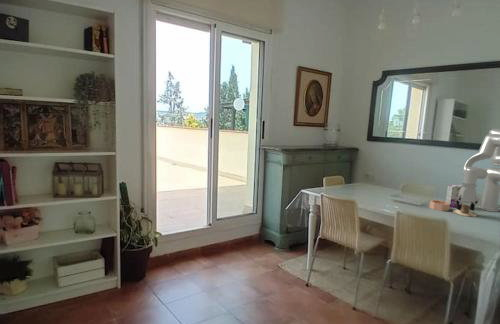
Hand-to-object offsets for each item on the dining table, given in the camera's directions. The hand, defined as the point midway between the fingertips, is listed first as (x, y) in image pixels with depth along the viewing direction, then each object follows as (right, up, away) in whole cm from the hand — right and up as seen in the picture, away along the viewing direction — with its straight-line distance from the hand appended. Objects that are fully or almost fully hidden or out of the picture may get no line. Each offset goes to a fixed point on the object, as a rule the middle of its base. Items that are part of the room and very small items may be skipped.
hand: (465, 209), depth 223 cm
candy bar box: (+4, -1, +19) cm, 20 cm away
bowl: (-12, -1, +11) cm, 16 cm away
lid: (0, -3, +1) cm, 3 cm away
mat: (0, -3, +1) cm, 3 cm away
